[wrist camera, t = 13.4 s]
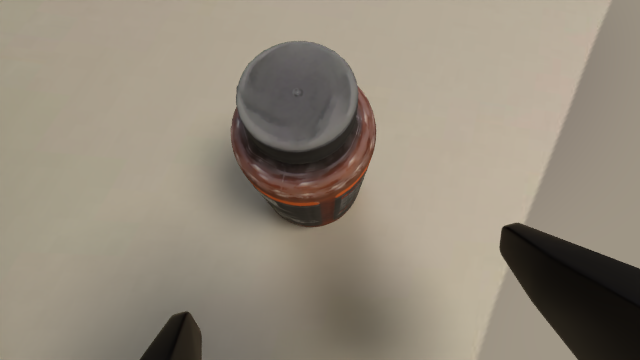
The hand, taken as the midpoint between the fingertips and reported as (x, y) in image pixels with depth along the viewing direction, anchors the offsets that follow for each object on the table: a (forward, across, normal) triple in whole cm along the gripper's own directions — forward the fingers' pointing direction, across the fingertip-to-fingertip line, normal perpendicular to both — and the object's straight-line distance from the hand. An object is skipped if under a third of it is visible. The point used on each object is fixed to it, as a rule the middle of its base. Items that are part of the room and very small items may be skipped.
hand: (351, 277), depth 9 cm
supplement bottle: (+12, 0, +4) cm, 13 cm away
